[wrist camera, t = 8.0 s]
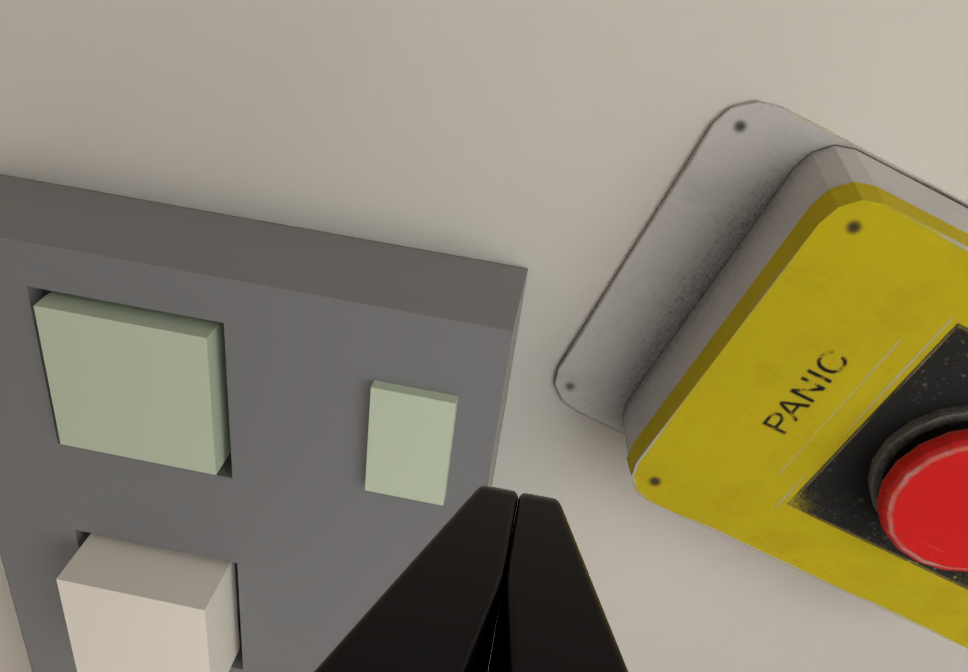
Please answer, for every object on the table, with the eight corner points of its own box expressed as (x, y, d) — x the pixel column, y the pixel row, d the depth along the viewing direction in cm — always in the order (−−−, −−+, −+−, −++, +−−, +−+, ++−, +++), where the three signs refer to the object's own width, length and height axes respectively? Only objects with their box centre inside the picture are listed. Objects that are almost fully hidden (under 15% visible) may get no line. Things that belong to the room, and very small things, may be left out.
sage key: (246, 427, 23) (216, 474, 22) (101, 399, 24) (60, 443, 22) (240, 296, 21) (206, 338, 19) (81, 266, 21) (33, 305, 20)
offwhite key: (239, 648, 27) (213, 704, 25) (112, 621, 27) (77, 674, 25) (234, 555, 24) (204, 610, 23) (95, 526, 25) (56, 579, 23)
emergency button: (1064, 734, 21) (525, 487, 20) (1000, 597, 25) (543, 381, 23) (1441, 494, 16) (759, 140, 15) (1291, 368, 20) (734, 75, 18)
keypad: (441, 784, 33) (424, 872, 31) (104, 710, 34) (57, 789, 32) (527, 268, 21) (511, 338, 18) (-7, 173, 22) (-100, 225, 19)
